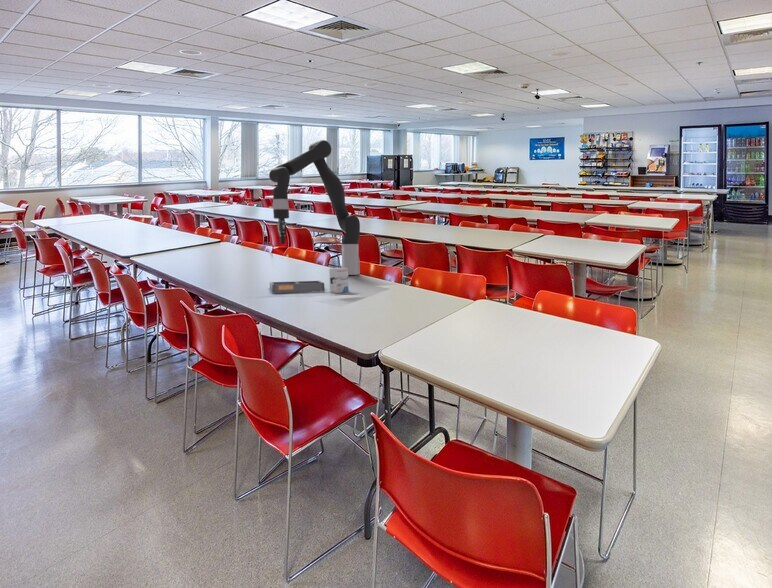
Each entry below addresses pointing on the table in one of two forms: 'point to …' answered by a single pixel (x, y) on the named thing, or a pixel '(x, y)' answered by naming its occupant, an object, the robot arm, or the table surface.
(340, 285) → the ink box
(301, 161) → the robot arm
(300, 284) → the tray
